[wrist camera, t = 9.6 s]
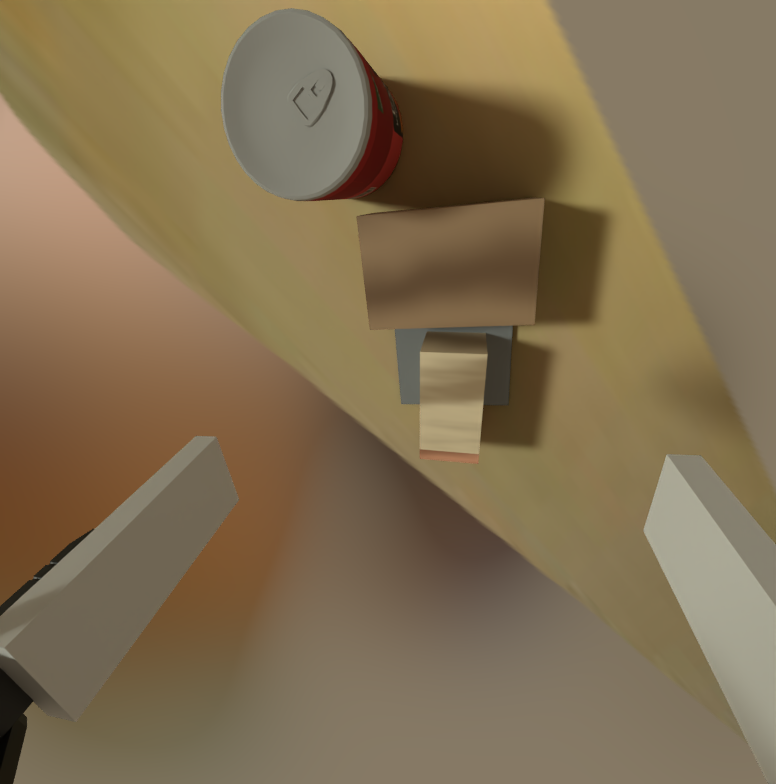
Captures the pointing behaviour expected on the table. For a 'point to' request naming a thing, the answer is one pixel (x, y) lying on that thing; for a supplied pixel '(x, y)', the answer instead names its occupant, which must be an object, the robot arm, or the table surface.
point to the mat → (495, 335)
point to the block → (452, 395)
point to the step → (452, 265)
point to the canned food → (308, 110)
